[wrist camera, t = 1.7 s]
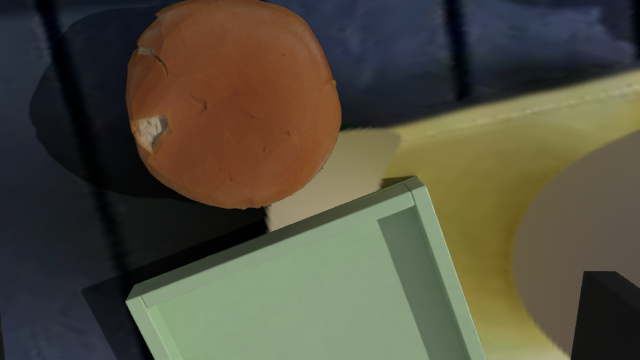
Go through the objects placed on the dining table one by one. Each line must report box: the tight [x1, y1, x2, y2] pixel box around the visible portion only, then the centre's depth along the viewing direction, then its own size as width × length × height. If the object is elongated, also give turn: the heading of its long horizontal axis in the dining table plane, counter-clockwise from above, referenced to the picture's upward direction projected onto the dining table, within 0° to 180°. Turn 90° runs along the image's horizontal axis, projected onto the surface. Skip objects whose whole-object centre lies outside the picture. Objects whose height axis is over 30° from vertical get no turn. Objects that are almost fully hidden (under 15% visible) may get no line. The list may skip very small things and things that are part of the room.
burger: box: [125, 0, 341, 210], centre depth 27 cm, size 10×9×5 cm
